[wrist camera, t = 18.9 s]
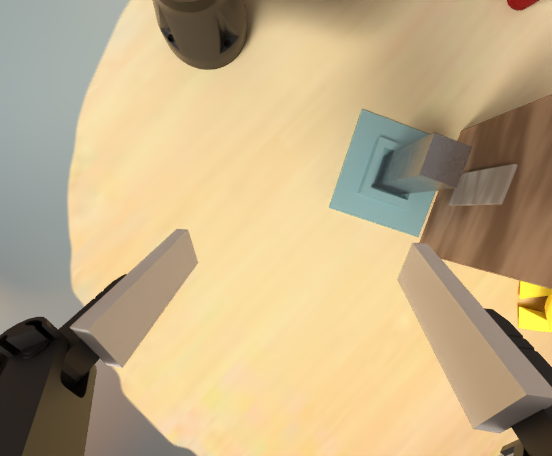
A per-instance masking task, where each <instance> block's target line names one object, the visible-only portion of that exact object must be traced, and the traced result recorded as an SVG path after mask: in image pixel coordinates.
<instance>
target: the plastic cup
mask: <svg viewBox="0 0 552 456" xmlns="http://www.w3.org/2000/svg"><path fill="white" fill-rule="evenodd" d="M537 1H539V0H507V2H508V4H509V5H510V7H511V8H513V9H515V10H523V9H525V8H527V7H529V6H531V5H533V4H534V3H536V2H537Z"/></svg>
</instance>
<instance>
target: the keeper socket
mask: <svg viewBox="0 0 552 456" xmlns="http://www.w3.org/2000/svg"><path fill="white" fill-rule="evenodd" d="M429 135H430V134H427V133H424V132H422V131H419V130H417V129H414V128H411V127H409V126H406V125H403V124H401V123H398V122H395V121H393V120H390V119H387V118H385V117H382V116H379V115H377V114H374V113H371V112H369V111H366V110H363V109H362V110H361V113H360V116H359V119H358V122H357V125H356V128H355V131H354V134H353V137H352V140H351V143H350V146H349V149H348V152H347V155H346V158H345V161H344V164H343V167H342V170H341V173H340V176H339V179H338V182H337V185H336V188H335V191H334V194H333V196H332V199H331V202H330V205H329V208H331V209H334V210H337V211H340V212H343V213H346V214H349V215H352V216H355V217H358V218H361V219H364V220H367V221H370V222H373V223H377V224H380V225H383V226H386V227H389V228H392V229H395V230H398V231H401V232H404V233H407V234H410V235H413V236H416V237H419V234H420V231H421V229H422V226H423V223H424V220H425V218H426V215H427V212H428V210H429V207H430V204H431V202H432V199H433V196H434V194H435V191H428V192H420V193H411V194H403V195H399V194H396V193H393V192H390V191H387V190H384V189H381V188H378V187H376V186H373V183H374V181H375V178H376V175H377V172H378V169H379V166H380V164H381V161H382V158H383V156H385V155H387V154H390V153H392V152H394V151H396V150H398V149H400V148H403V147H405V146H407V145H409V144H411V143H413V142H416V141H418V140H420V139H422V138H424V137H426V136H429Z"/></svg>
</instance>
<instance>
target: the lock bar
mask: <svg viewBox="0 0 552 456" xmlns="http://www.w3.org/2000/svg"><path fill="white" fill-rule="evenodd" d="M471 150H472V147H471V146H468V145H466V144H463V143H460V142H458V141H455V140H453V139H450V138H447V137H445V136H442V135H439V134H437V133H433V134H431V135H429V136H426V137H424V138H422V139H420V140H418V141H416V142H413V143H411V144H409V145H407V146H405V147H403V148H400V149H398V150H396V151H394V152H392V153H390V154H387V155H385V156H383V158H382V161H381V164H380V166H379V169H378V172H377V175H376V178H375V181H374V183H373V186H376V187H378V188H381V189H384V190H387V191H390V192H393V193H396V194H399V195H403V194H411V193H420V192H428V191H437V190H445V189H454V188H457V186H458V184H459V181H460V178H461V176H462V173H463V171H464V168H465V165H466V163H467V160H468V158H469V155H470V152H471Z"/></svg>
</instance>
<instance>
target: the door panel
mask: <svg viewBox="0 0 552 456" xmlns="http://www.w3.org/2000/svg"><path fill="white" fill-rule="evenodd" d="M458 142H460V143H463V144H466V145H468V146H471V147H472V150H471V152H470V155H469V158H468V160H467V163H466V165H465V168H464V171H463V173H462V176H461V178H460V181H459V184H458V186H457V188H454V189H445V190H439V192H438V195H437V197H436V200H435V203H434V205H433V208H432V211H431V213H430V216H429V219H428V221H427V224H426V227H425V229H424V232H423V235H422V237H421V240H420V243H422V244H428V245H429V246H430V247H431V248H432V249H433V250H434V252H435V253H436V254H437V255H438V256H439V257H440V258H441V259H443V260H447V261H451V262H454V263H458V264H462V265H465V266H469V267H473V268H476V269H480V270H483V271H487V272H491V273H494V274H498V275H502V276H505V277H509V278H513V279H516V280H520V281H523V282H527V283H531V284H534V285H538V286H542V287H545V288H549V289H552V94H551V95H549V96H546V97H544V98H541V99H539V100H536V101H534V102H532V103H529V104H527V105H524V106H522V107H519V108H517V109H514V110H512V111H509V112H507V113H504V114H502V115H500V116H497V117H495V118H492V119H490V120H487V121H485V122H482V123H480V124H477V125H475V126H473V127H470V128H468V129H465V130H463V131H461V133H460V136H459V139H458Z"/></svg>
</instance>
